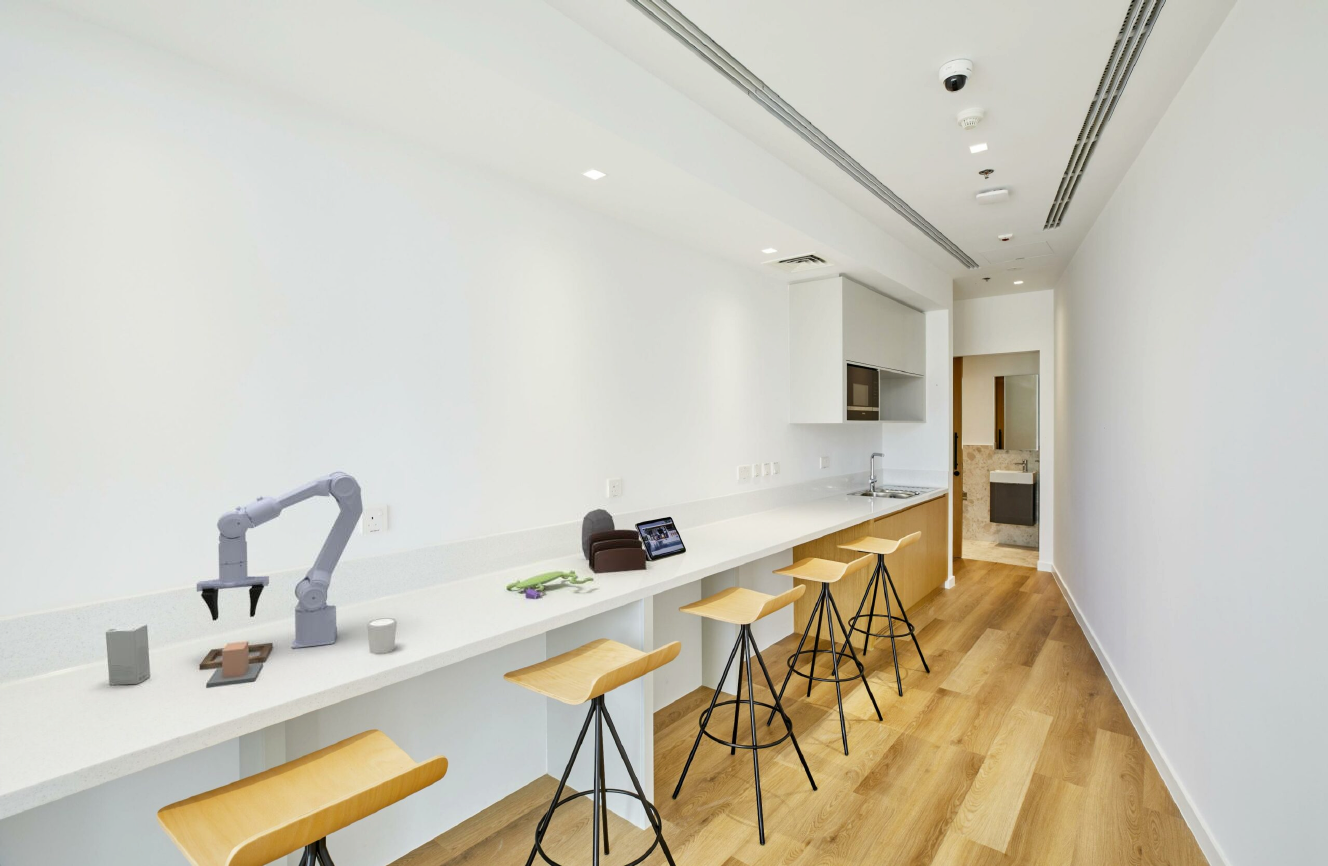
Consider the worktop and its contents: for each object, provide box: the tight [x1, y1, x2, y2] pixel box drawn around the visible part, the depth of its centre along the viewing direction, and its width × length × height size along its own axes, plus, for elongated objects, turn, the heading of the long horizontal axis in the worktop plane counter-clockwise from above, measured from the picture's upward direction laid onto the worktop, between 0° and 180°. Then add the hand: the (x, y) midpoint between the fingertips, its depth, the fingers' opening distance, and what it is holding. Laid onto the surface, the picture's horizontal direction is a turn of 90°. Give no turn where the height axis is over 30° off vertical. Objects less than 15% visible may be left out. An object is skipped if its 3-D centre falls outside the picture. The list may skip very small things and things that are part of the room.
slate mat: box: [205, 662, 264, 688], centre depth 146 cm, size 9×9×1 cm
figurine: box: [506, 570, 594, 600], centre depth 217 cm, size 18×27×6 cm
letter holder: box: [588, 529, 647, 574], centre depth 246 cm, size 10×20×14 cm, turn 109°
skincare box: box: [105, 624, 151, 686], centre depth 143 cm, size 6×4×12 cm
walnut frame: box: [199, 642, 274, 671], centre depth 157 cm, size 13×10×1 cm
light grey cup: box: [366, 617, 398, 655], centre depth 163 cm, size 7×7×7 cm
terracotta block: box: [221, 640, 250, 678], centre depth 146 cm, size 4×5×6 cm
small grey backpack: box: [581, 508, 616, 560], centre depth 261 cm, size 15×8×20 cm, turn 130°
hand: (234, 617), depth 158 cm, fingers open, 7 cm apart
